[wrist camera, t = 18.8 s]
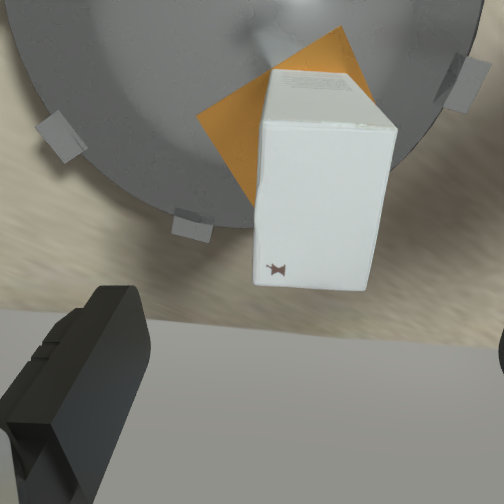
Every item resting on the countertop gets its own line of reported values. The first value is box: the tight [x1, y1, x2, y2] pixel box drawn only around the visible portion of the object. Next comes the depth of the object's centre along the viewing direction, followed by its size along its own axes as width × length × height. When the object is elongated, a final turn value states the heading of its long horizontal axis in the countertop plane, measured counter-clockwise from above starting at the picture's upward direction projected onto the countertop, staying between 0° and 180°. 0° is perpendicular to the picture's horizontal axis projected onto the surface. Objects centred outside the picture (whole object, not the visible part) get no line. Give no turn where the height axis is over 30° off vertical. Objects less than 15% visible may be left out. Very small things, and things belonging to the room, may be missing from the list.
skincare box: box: [252, 69, 398, 291], centre depth 19 cm, size 6×4×12 cm
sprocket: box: [4, 0, 492, 243], centre depth 19 cm, size 27×27×9 cm
